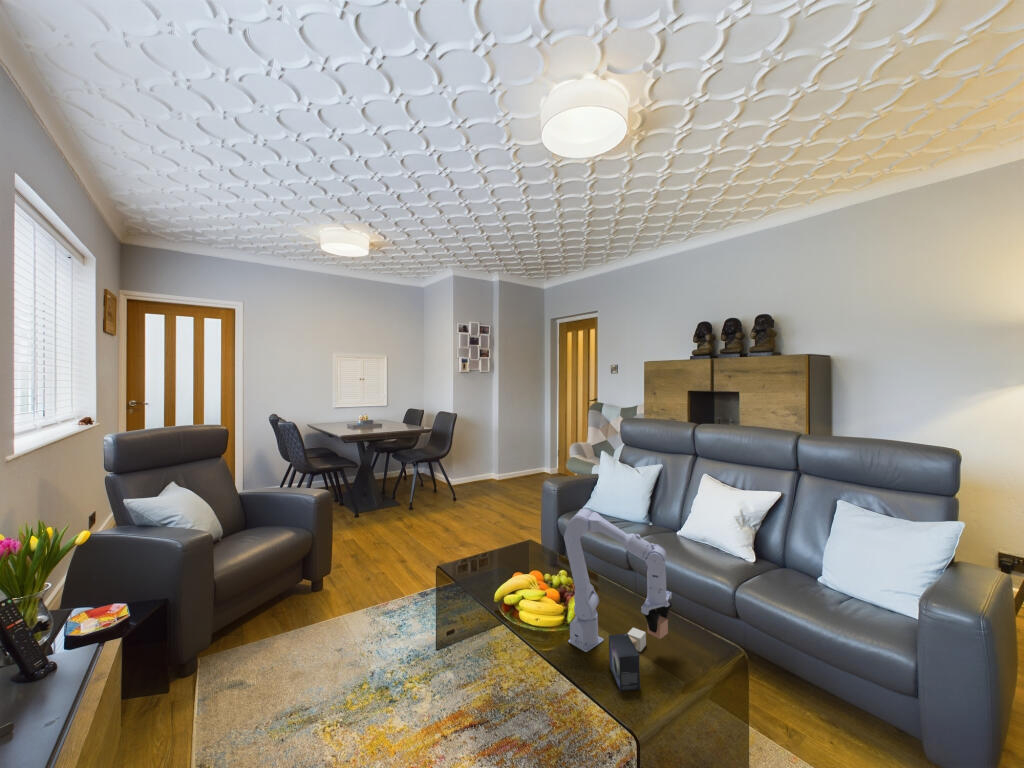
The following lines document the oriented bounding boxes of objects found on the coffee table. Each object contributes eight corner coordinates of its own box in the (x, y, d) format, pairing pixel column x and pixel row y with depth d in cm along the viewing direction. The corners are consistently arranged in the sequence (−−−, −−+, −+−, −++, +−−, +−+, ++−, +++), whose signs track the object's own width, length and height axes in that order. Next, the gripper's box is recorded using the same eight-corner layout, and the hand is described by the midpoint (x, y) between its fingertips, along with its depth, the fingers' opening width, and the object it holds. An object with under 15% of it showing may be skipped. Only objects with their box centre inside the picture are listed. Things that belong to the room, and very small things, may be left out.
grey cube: (640, 652, 145) (640, 638, 145) (627, 647, 148) (627, 633, 148) (645, 645, 149) (645, 632, 148) (633, 640, 151) (632, 627, 151)
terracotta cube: (660, 639, 139) (660, 624, 139) (647, 632, 142) (647, 618, 142) (667, 633, 142) (667, 619, 141) (655, 627, 145) (654, 613, 145)
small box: (607, 667, 138) (607, 634, 138) (628, 665, 139) (627, 632, 138) (619, 692, 128) (618, 656, 127) (641, 690, 128) (640, 654, 128)
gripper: (655, 598, 134) (656, 643, 134) (680, 582, 143) (680, 624, 144) (635, 590, 139) (635, 633, 139) (660, 575, 149) (660, 615, 149)
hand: (657, 627), depth 142 cm, fingers closed on terracotta cube, 4 cm apart
